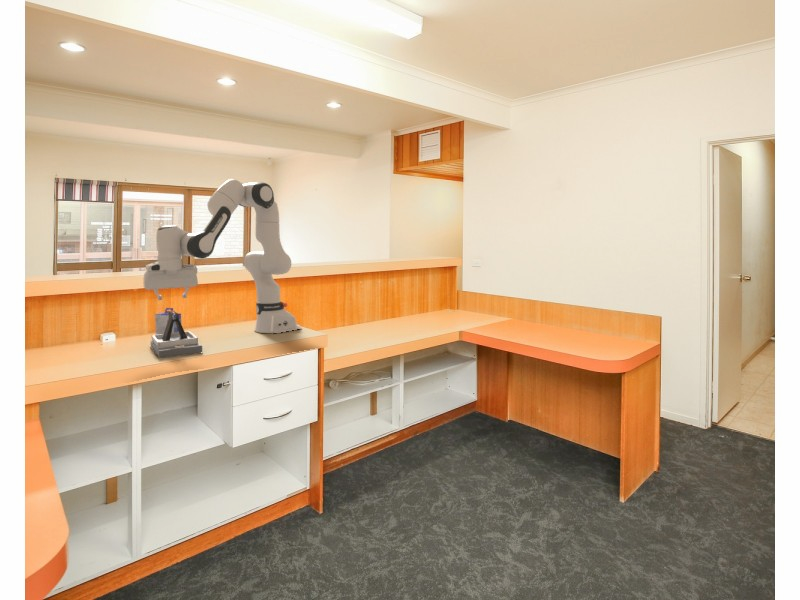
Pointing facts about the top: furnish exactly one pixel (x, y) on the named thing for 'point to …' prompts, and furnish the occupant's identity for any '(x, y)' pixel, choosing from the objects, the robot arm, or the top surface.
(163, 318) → the ink cartridge box
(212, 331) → the top surface
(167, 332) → the black mini tripod
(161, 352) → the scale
